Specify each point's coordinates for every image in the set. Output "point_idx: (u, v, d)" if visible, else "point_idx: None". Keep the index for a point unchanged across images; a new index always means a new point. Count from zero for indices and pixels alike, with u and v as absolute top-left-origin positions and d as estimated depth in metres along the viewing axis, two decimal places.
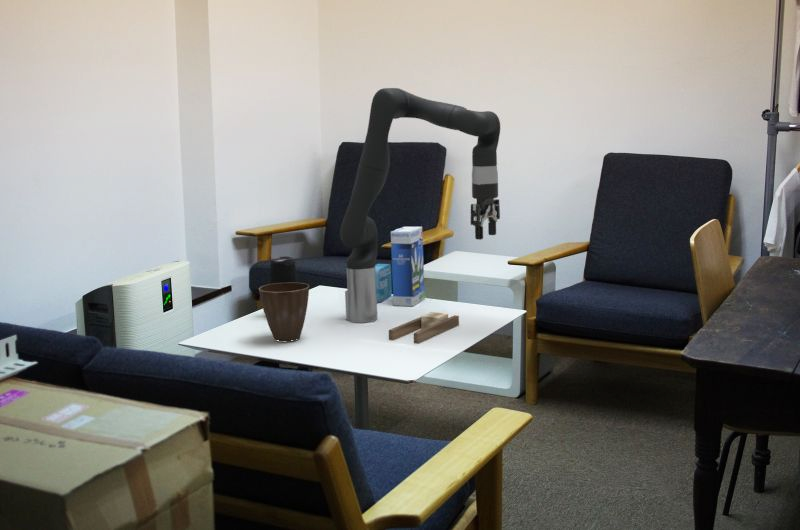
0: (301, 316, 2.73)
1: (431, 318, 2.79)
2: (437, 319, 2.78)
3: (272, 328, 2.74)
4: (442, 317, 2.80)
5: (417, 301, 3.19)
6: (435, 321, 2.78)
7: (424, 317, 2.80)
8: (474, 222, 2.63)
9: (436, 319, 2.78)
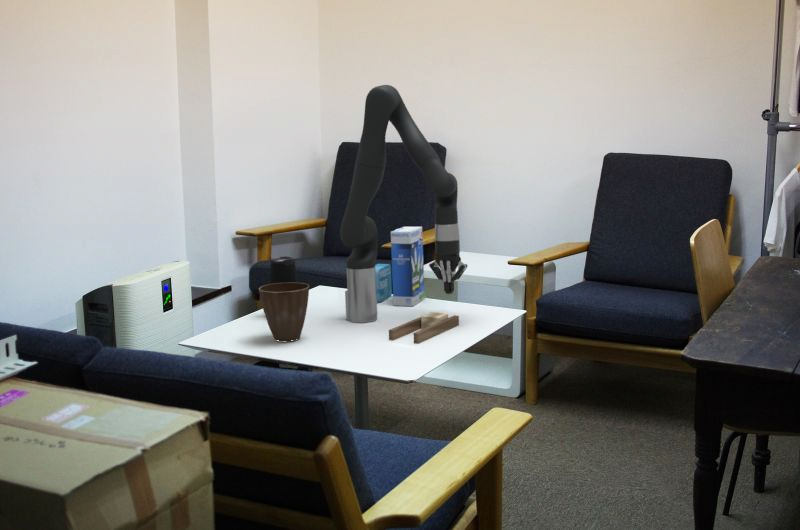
0: (301, 316, 2.73)
1: (431, 318, 2.79)
2: (437, 319, 2.78)
3: (272, 328, 2.74)
4: (442, 317, 2.80)
5: (417, 301, 3.19)
6: (435, 321, 2.78)
7: (424, 317, 2.80)
8: (457, 278, 2.85)
9: (436, 319, 2.78)
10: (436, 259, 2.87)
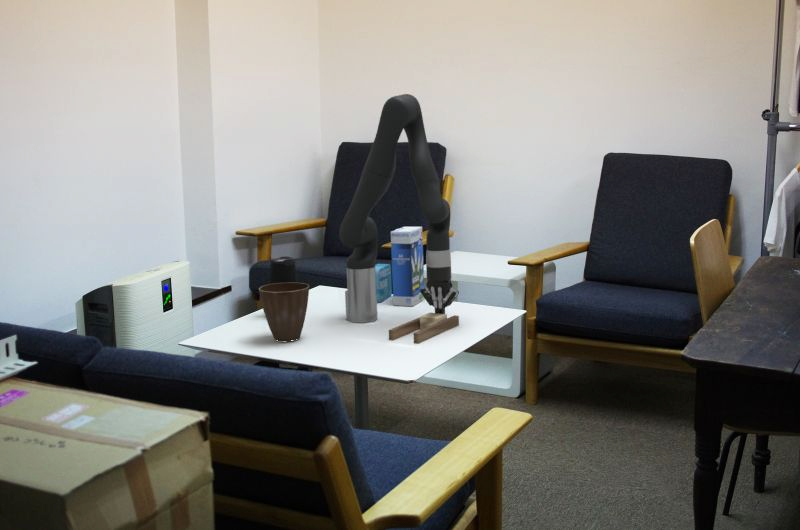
0: (301, 316, 2.73)
1: (430, 319, 2.78)
2: (436, 320, 2.77)
3: (272, 328, 2.74)
4: (441, 318, 2.79)
5: (417, 301, 3.19)
6: (434, 322, 2.78)
7: (423, 318, 2.80)
8: (448, 305, 2.82)
9: (435, 320, 2.77)
10: (427, 285, 2.84)
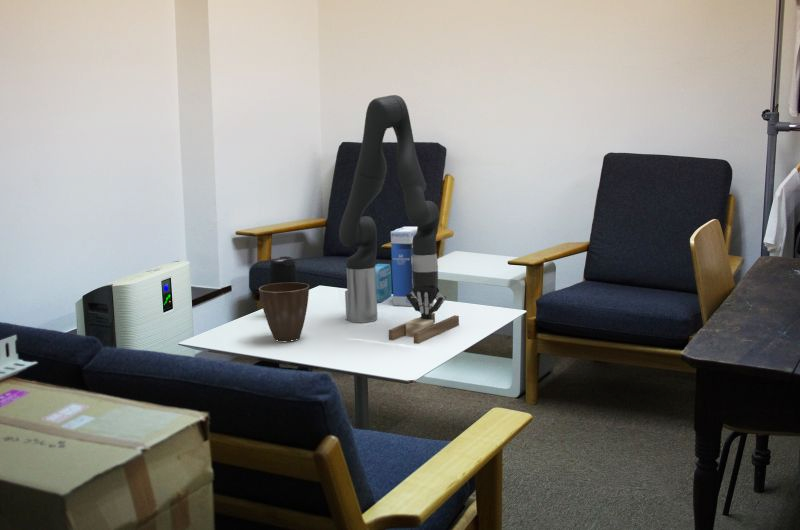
0: (301, 316, 2.73)
1: (416, 325, 2.72)
2: (422, 326, 2.70)
3: (272, 328, 2.74)
4: (427, 323, 2.72)
5: None
6: (420, 328, 2.71)
7: (409, 323, 2.73)
8: (435, 310, 2.76)
9: (421, 326, 2.71)
10: (413, 290, 2.77)
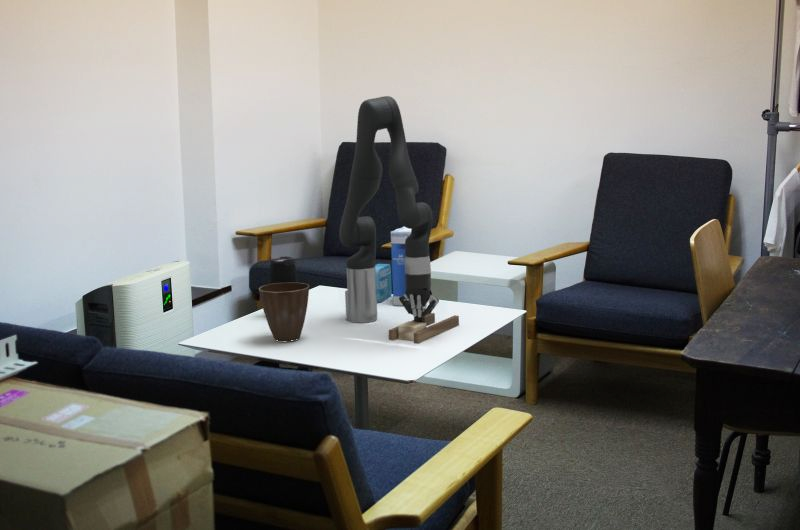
0: (301, 316, 2.73)
1: (408, 328, 2.68)
2: (414, 329, 2.67)
3: (272, 328, 2.74)
4: (420, 327, 2.69)
5: None
6: (412, 331, 2.68)
7: (401, 327, 2.69)
8: (428, 313, 2.72)
9: (413, 329, 2.67)
10: (406, 292, 2.74)
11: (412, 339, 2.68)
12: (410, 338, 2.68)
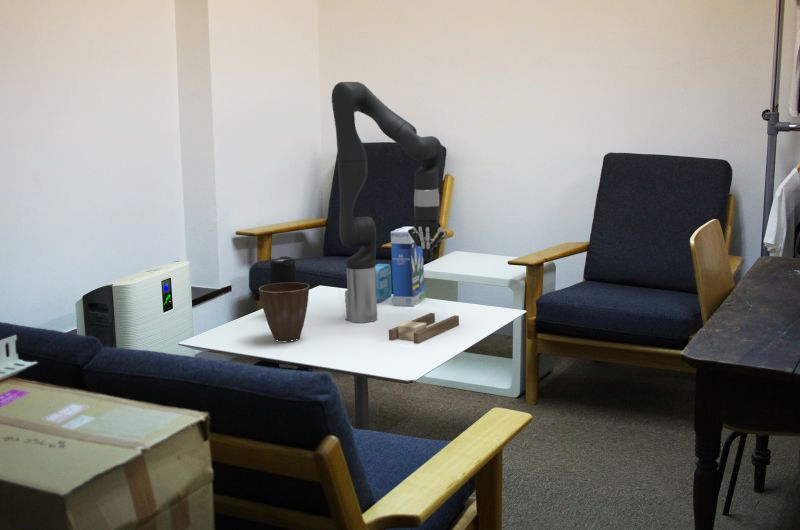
0: (301, 316, 2.73)
1: (408, 328, 2.68)
2: (414, 329, 2.67)
3: (272, 328, 2.74)
4: (420, 327, 2.69)
5: (417, 301, 3.19)
6: (412, 331, 2.68)
7: (401, 327, 2.69)
8: (436, 245, 2.79)
9: (413, 329, 2.67)
10: (415, 225, 2.80)
11: (412, 339, 2.68)
12: (410, 338, 2.68)
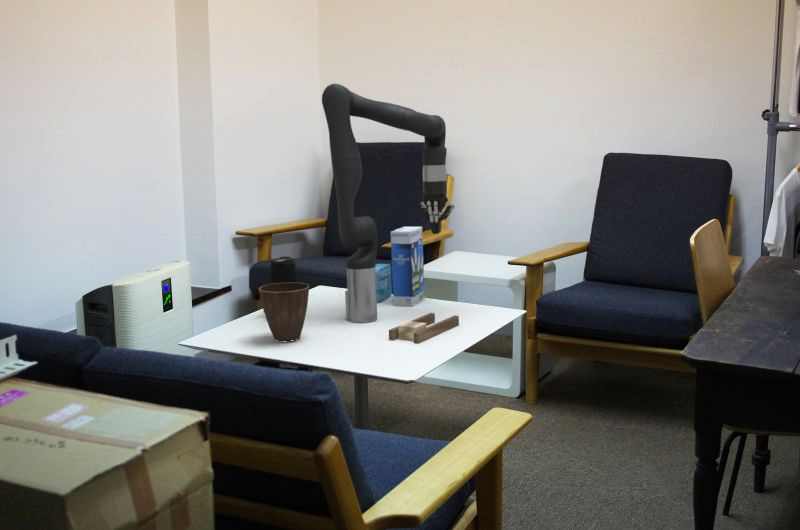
0: (301, 316, 2.73)
1: (408, 328, 2.68)
2: (414, 329, 2.67)
3: (272, 328, 2.74)
4: (420, 327, 2.69)
5: (417, 301, 3.19)
6: (412, 331, 2.68)
7: (401, 327, 2.69)
8: (444, 219, 2.93)
9: (413, 329, 2.67)
10: (424, 200, 2.94)
11: (412, 339, 2.68)
12: (410, 338, 2.68)
